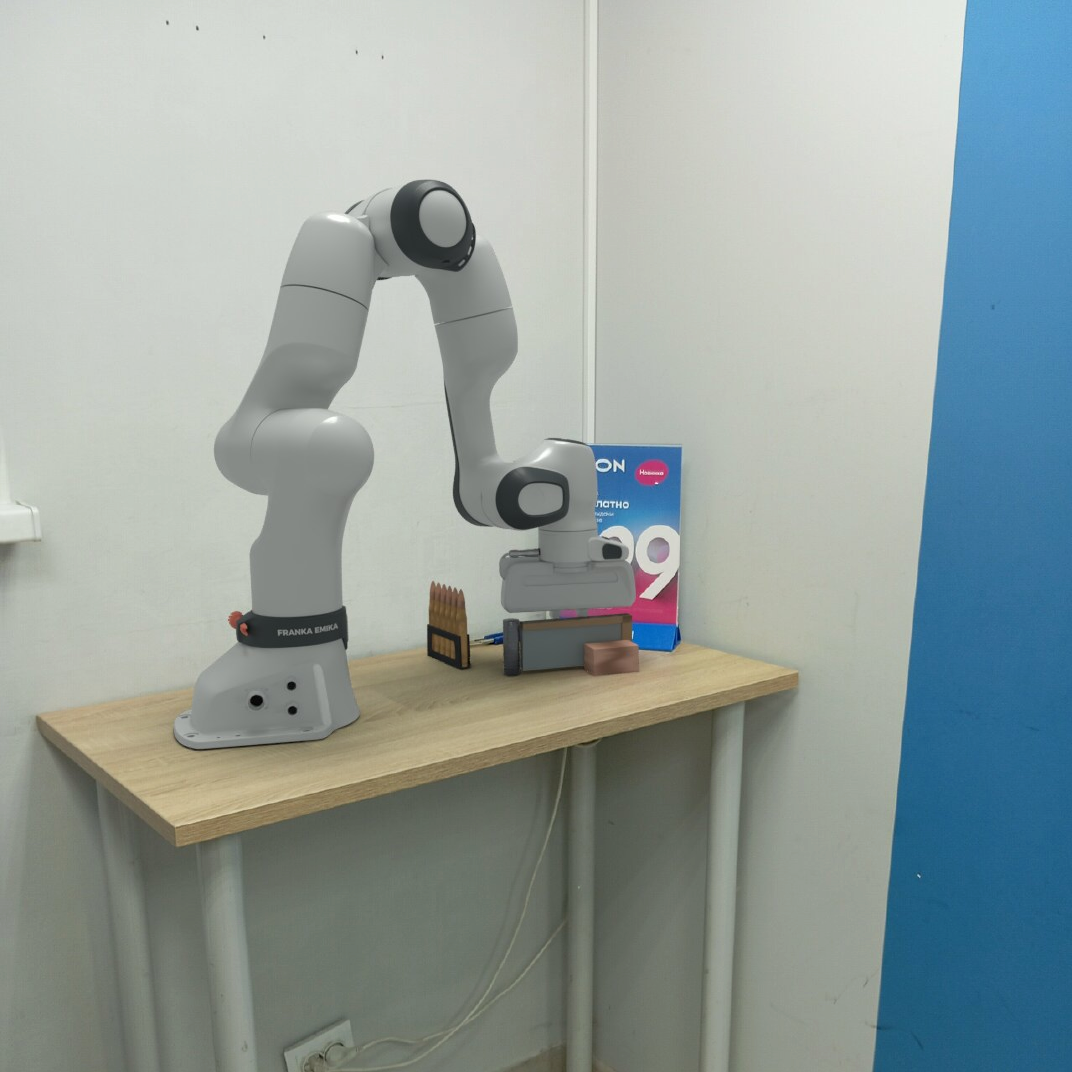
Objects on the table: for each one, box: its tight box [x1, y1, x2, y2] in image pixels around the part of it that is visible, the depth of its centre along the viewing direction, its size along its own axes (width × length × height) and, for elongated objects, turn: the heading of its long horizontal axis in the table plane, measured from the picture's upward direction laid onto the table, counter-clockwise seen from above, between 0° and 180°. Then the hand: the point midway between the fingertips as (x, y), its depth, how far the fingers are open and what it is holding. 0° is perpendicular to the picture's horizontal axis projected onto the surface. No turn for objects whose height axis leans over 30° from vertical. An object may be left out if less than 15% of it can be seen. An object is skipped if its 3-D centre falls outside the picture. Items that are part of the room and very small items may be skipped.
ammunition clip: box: [426, 580, 472, 671], centre depth 156 cm, size 11×2×12 cm, turn 34°
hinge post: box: [502, 617, 521, 677], centre depth 149 cm, size 2×2×8 cm
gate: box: [519, 612, 633, 672], centre depth 152 cm, size 17×2×7 cm, turn 107°
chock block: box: [583, 640, 640, 677], centre depth 150 cm, size 7×4×4 cm, turn 108°
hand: (568, 638), depth 154 cm, fingers closed
